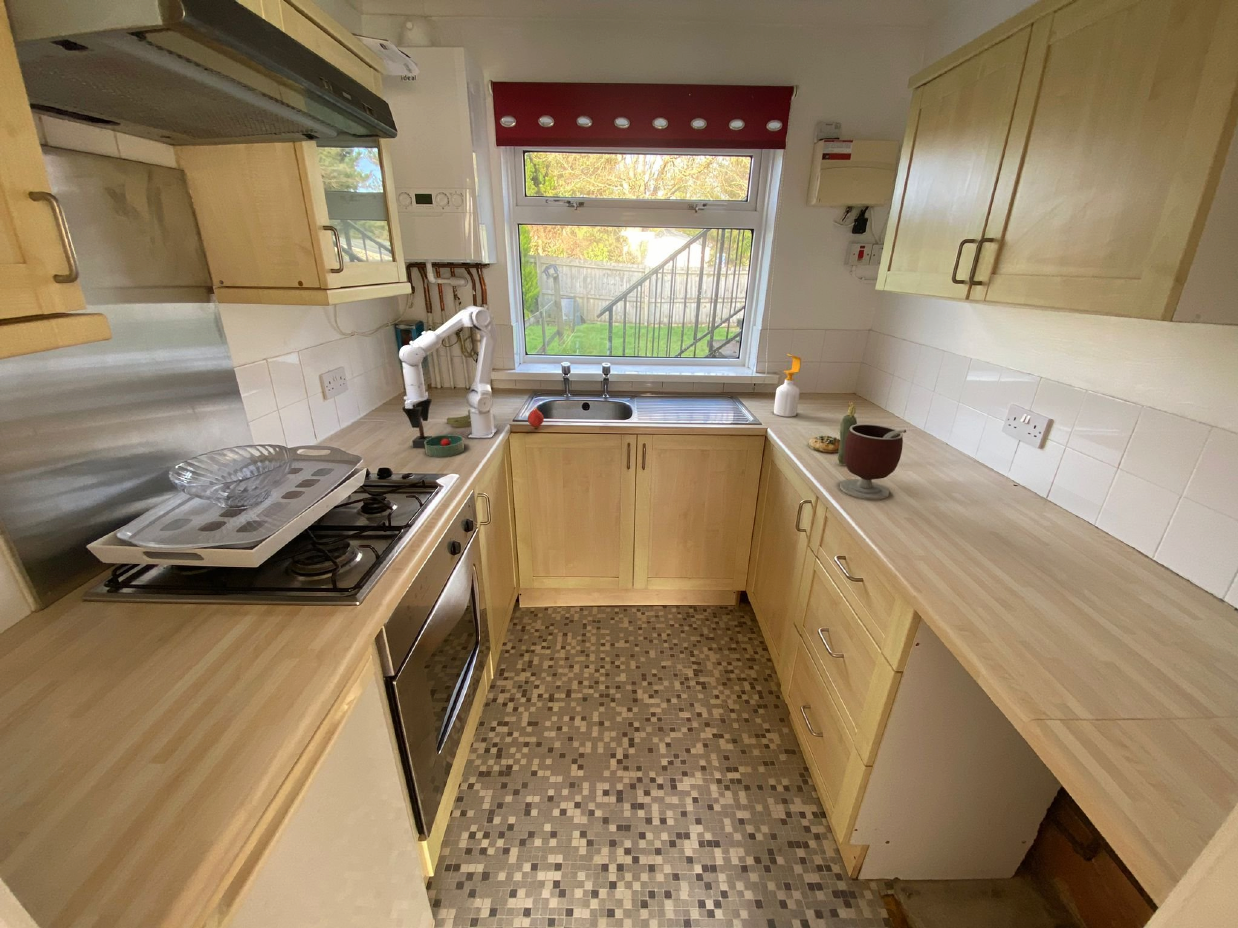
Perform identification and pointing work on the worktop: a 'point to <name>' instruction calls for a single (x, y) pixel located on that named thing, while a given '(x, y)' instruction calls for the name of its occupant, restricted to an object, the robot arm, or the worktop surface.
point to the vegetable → (846, 430)
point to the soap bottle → (788, 392)
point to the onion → (535, 418)
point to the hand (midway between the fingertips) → (420, 424)
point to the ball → (445, 442)
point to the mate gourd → (871, 458)
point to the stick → (421, 429)
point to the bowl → (437, 450)
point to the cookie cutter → (460, 421)
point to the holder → (419, 442)
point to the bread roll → (825, 444)
